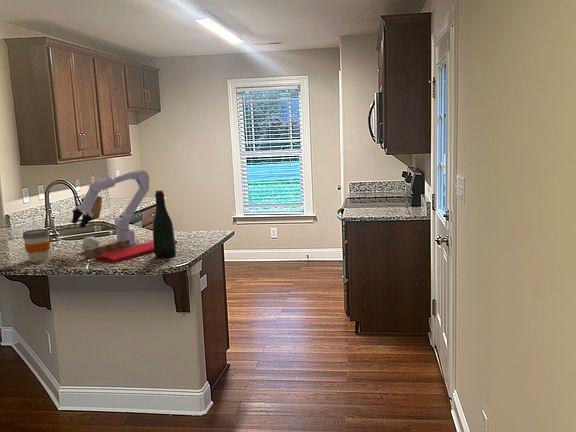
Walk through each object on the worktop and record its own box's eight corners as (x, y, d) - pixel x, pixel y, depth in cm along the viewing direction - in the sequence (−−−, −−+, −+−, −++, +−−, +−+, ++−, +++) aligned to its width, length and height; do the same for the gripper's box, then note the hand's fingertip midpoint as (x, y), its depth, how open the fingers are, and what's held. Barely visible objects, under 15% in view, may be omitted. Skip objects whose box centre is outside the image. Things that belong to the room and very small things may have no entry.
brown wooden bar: (126, 247, 306) (125, 239, 305) (130, 248, 304) (129, 239, 303) (85, 258, 285) (84, 249, 284) (88, 258, 283) (87, 250, 283)
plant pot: (79, 220, 420) (77, 199, 418) (92, 216, 434) (89, 196, 432) (96, 220, 416) (93, 198, 413) (108, 216, 430) (106, 196, 427)
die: (98, 250, 308) (85, 237, 306) (105, 243, 302) (92, 230, 301) (88, 258, 301) (75, 245, 300) (95, 252, 296) (82, 238, 294)
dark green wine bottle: (180, 255, 279) (174, 189, 273) (162, 259, 271) (155, 192, 266) (168, 252, 286) (162, 188, 281) (150, 256, 279) (144, 191, 274)
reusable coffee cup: (22, 260, 289) (18, 232, 286) (46, 255, 297) (43, 228, 295) (31, 263, 280) (27, 234, 277) (56, 258, 288) (52, 230, 286)
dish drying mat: (94, 260, 280) (93, 253, 280) (159, 244, 312) (159, 237, 311) (113, 264, 271) (112, 256, 270) (178, 246, 302) (177, 240, 302)
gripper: (75, 196, 303) (64, 219, 302) (90, 203, 294) (79, 227, 293) (85, 200, 308) (74, 222, 307) (100, 207, 300) (89, 230, 299)
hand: (77, 225), depth 301 cm, fingers open, 7 cm apart
